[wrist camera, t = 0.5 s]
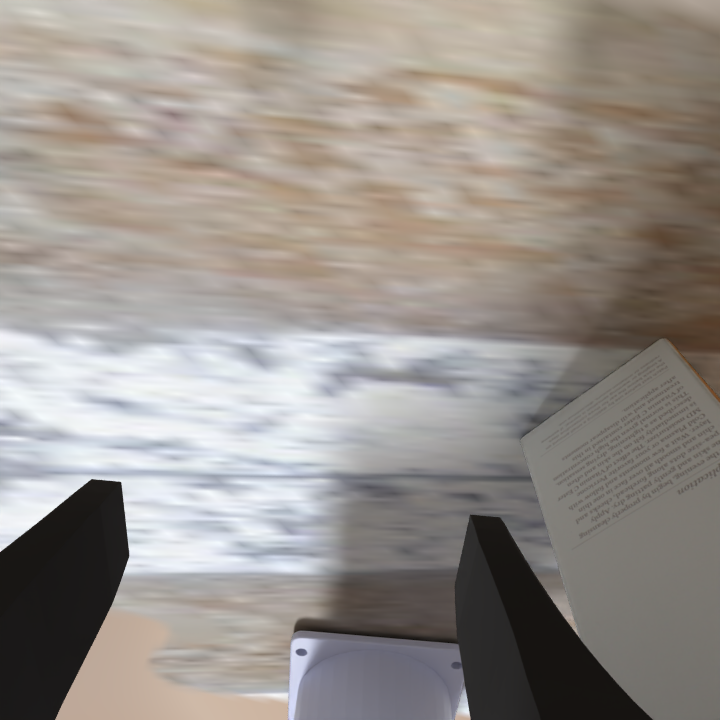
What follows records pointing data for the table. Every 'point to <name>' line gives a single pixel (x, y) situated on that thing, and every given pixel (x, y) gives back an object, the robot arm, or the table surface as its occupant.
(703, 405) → the small box
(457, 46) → the table surface
